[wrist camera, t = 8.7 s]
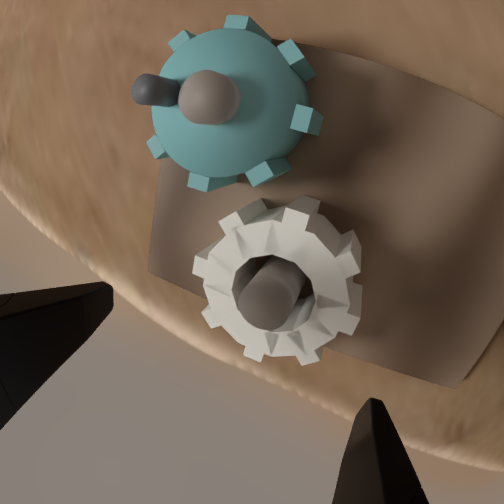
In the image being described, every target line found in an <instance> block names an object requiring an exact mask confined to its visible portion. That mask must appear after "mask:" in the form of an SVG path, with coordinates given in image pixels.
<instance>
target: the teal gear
mask: <svg viewBox="0 0 504 504" xmlns="http://www.w3.org/2000/svg"><path fill="white" fill-rule="evenodd" d="M271 41H272V38H271V37H270V36H269V35H268V34H267V33H266V32H265V31H264V30H263V29H262V28H261V27H260V26H259V25H258V24H257V23H256V22H255V21H254V20H253V19H252V18H250V17H249V16H240V15H227V18H226V21H225V25H224V28H223V29H216V30H212V31H208V32H205V33H202V34H200V35H197V36H196V35H194V34H192V33H190V32H188V31H186V30H183V31H182V32H180V33H179V34H178V35H177V36H175V37H174V38H173V39H172V40H171V41H169V42H168V44H169V45H170V47H171V49H172V50H173V52H174V53H173V54H172V55H171V57H170V58H169V59H168V60H167V62H166V63H165V65H164V66H163V68H162V70H161V72H160V74H159V76H157V75H152V74H142V75H140V76H139V77H138V78H137V79H136V80H135V82H134V84H133V86H132V97H133V100H134V101H135V102H136V103H137V104H141V105H152V119H153V124H154V128H155V132H156V134H155V135H154V136H153V137H151V138H150V139H149V140H148V141H147V142H146V143H147V145H148V146H149V148H150V150H151V152H152V154H153V156H154V158H155V159H161V158H169V157H171V158H172V159H173V160H174V161H175V162H176V163H178V164H179V165H180V166H182V167H183V168H185V169H187V170H189V171H191V172H190V174H189V179H188V185H187V187H191V188H194V189H197V190H200V191H203V192H209V191H212V190H215V189H218V188H222V187H225V186H228V185H231V184H234V183H236V182H237V177H238V174H242V173H245V172H246V173H245V174H246V176H247V177H248V179H249V181H250V183H251V184H252V186H253V187H255V186H257V185H260V184H262V183H265V182H267V181H270V180H273V179H275V178H277V177H279V176H281V175H282V174H284V173H286V172H288V171H290V170H292V168H291V166H290V164H289V163H288V161H287V159H286V158H284V157H286V156H287V155H288V154H289V153H290V152H291V151H292V150H293V149H294V148H295V147H296V146H297V144H298V143H299V141H300V140H301V138H302V136H303V134H304V132H305V133H309V134H313V135H317V136H319V133H320V129H321V125H322V121H323V118H324V116H322V115H321V114H320V113H319V112H317V111H316V110H315V109H313V108H310V100H309V94H308V90H307V87H306V84H305V82H306V81H308V80H309V79H311V78H313V77H315V76H317V75H316V73H315V72H314V70H313V69H312V67H311V66H310V64H309V63H308V61H307V60H306V59H305V57H304V56H303V54H302V53H301V52H300V50H299V49H298V47H297V46H296V45H295V43H294V42H293V41H292V39H289V40H287V41H285V42H284V43H282V44H280V45H279V46H277V48H278V49H279V50H278V49H277V48H276V47H275V46H274V45H273V44H272V43H271ZM201 70H213V71H216V72H218V73H220V74H223V75H225V76H227V77H229V78H231V79H232V80H233V81H234V82H235V83H236V84H237V85H238V87H239V90H240V94H241V101H240V106H239V108H238V111H237V112H236V114H235V115H234V116H233V117H232V118H231V119H230V120H229V121H227V122H226V123H223V124H220V125H204V124H196V123H193V122H190V121H189V120H187V119H186V118H185V117H184V116H183V114H182V112H181V110H180V108H179V102H178V98H179V92H180V89H181V87H182V85H183V83H184V82H185V80H186V79H187V78H188V77H189V76H190V75H192V74H193V73H195V72H198V71H201ZM304 81H305V82H304Z"/></svg>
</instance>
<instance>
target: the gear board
mask: <svg viewBox="0 0 504 504" xmlns="http://www.w3.org/2000/svg"><path fill="white" fill-rule="evenodd" d="M192 34H194V35H196V36H197V35H200V34H202V33H192ZM284 42H285V41H282V40H276V39H272V41H271V43H272V44H273V45H274V46H275V47H276V48H277V46H279V45H280V44H282V43H284ZM295 45H296V46H297V47H298V49H299V50H300V52H301V53H302V54H303V56H304V57H305V59H306V60H307V61H308V63H309V64H310V66H311V67H312V69H313V70H314V72H315V73H316V75H317V76H315V77H313V78H311V79H309V80H308V81H306V82H305V81H304V82H305V84H306V87H307V90H308V94H309V100H310V108H313V109H315V110H316V111H317V112H319V113H320V114H321V115H322V116H324V118H323V121H322V125H321V129H320V133H319V136H317V135H313V134H309V133H305V132H304V134H303V136H302V138H301V140H300V141H299V143H298V144H297V146H296V147H295V148H294V149H293V150H292V151H291V152H290V153H289V154H288V155H287V156H286V157H284V158H286V159H287V161H288V163H289V164H290V166H291V168H292V170H290V171H288V172H286V173H284V174H282V175H281V176H279V177H277V178H275V179H273V180H270V181H267V182H265V183H262V184H260V185H257V186H255V187H253V186H252V184H251V183H250V181H249V179H248V177H247V176H246V174H245V173H246V172H245V173H242V174H238V177H237V182H236V183H234V184H231V185H228V186H225V187H222V188H218V189H215V190H212V191H209V192H203V191H200V190H197V189H194V188H191V187H187V185H188V179H189V174H190V172H191V171H189V170H187V169H185V168H183V167H182V166H180V165H179V164H178V163H176V162H175V161H174V160H173V159H172V158H171V157H169V158H162V159H161V165H160V171H159V178H158V185H157V192H156V199H155V207H154V215H153V223H152V232H151V242H150V252H149V263H148V272H149V273H151V274H153V275H155V276H157V277H160V278H162V279H164V280H166V281H168V282H170V283H172V284H175V285H177V286H179V287H181V288H183V289H186V290H188V291H190V292H192V293H195V294H197V295H199V296H201V297H204V298H206V299H207V296H206V293H205V290H204V287H203V282H204V278H201V277H199V276H197V275H194V274H192V271H193V265H194V259H195V255H196V254H198V253H199V252H201V251H202V250H204V249H205V248H207V247H208V246H210V245H211V244H212V243H214V242H215V241H217V240H218V239H220V238H221V237H223V236H224V235H225V233H224V231H223V229H222V227H221V226H220V224H219V222H218V221H220V220H222V219H223V218H225V217H227V216H229V215H230V214H232V213H234V212H236V211H237V210H239V209H241V208H243V207H245V206H247V205H249V204H250V203H252V202H254V201H256V200H258V199H260V198H261V199H262V200H263V202H264V204H265V206H266V208H267V209H272V208H276V207H281V206H286V205H289V204H290V203H292V202H293V201H294V200H295V199H297V198H298V197H299V196H300V195H305V196H308V197H311V198H314V199H317V200H320V201H321V202H320V205H319V208H318V212H317V214H320V215H323V216H325V217H326V218H327V219H328V220H329V222H330V223H331V224H332V225H333V226H334V227H335V228H336V230H337V231H338V232H339V233H340V234H341V235H342V234H344V233H346V232H348V231H351V230H354V232H355V234H356V236H357V238H358V240H359V242H360V245H361V247H362V249H361V272H360V273H358V274H356V275H354V276H353V282H354V283H356V284H359V285H362V304H361V318H360V320H359V322H358V324H357V326H356V328H355V330H354V332H353V334H352V336H351V335H348V334H345V333H343V332H340V331H338V332H337V334H336V337H335V338H333V339H332V340H330V341H329V342H327V343H325V344H324V346H325V347H327V348H330V349H333V350H336V351H338V352H341V353H344V354H347V355H350V356H352V357H355V358H358V359H361V360H364V361H367V362H370V363H373V364H376V365H379V366H382V367H385V368H388V369H391V370H394V371H397V372H400V373H403V374H406V375H409V376H413V377H416V378H419V379H422V380H426V381H429V382H432V383H436V384H439V385H442V386H446V387H449V388H453V389H456V388H457V386H458V385H459V384H460V383H461V381H462V380H463V379H464V377H465V376H466V375H467V374H468V372H469V371H470V369H471V368H472V367H473V365H474V364H475V363H476V361H477V360H478V358H479V357H480V355H481V354H482V353H483V351H484V350H485V348H486V347H487V345H488V344H489V342H490V341H491V339H492V337H493V336H494V334H495V333H496V331H497V330H498V328H499V326H500V325H501V323H502V321H503V320H504V119H503V118H501V117H499V116H498V115H496V114H494V113H493V112H491V111H489V110H487V109H485V108H483V107H482V106H480V105H478V104H476V103H474V102H472V101H470V100H468V99H466V98H464V97H462V96H460V95H458V94H456V93H454V92H451V91H449V90H447V89H445V88H443V87H440V86H438V85H436V84H433V83H431V82H429V81H426V80H424V79H421V78H419V77H416V76H414V75H411V74H408V73H406V72H403V71H400V70H397V69H394V68H392V67H389V66H386V65H383V64H379V63H376V62H373V61H370V60H366V59H363V58H360V57H356V56H352V55H349V54H345V53H341V52H337V51H333V50H328V49H324V48H320V47H315V46H310V45H305V44H300V43H295ZM277 49H278V48H277ZM278 50H279V49H278ZM240 101H241V94H240V90H239V87H238V85H237V84H236V83H235V82H234V81H233V80H232V79H231V78H229V77H227V76H225V75H223V74H220V73H218V72H216V71H213V70H201V71H198V72H195V73H193V74H192V75H190V76H189V77H188V78H187V79H186V80H185V82H184V83H183V85H182V87H181V89H180V92H179V98H178V102H179V108H180V110H181V112H182V114H183V116H184V117H185V118H186V119H187V120H189V121H190V122H193V123H196V124H204V125H220V124H223V123H226V122H227V121H229V120H230V119H231V118H232V117H233V116H234V115H235V114H236V112H237V111H238V108H239V106H240ZM226 235H227V234H226ZM226 235H225V236H226ZM255 265H256V269H257V272H258V273H257V274H256V275H255V276H254V277H253V279H252V280H251V281H250V282H249V283H248V285H247V286H246V287H245V288H244V289H243V290H242V292H241V293H240V296H239V299H238V306H239V310H240V313H241V314H242V316H243V318H244V319H245V320H246V321H247V322H248V323H249V324H251V325H252V326H254V327H256V328H259V329H262V330H274V329H277V328H279V327H281V326H282V325H283V324H284V323H285V322H286V321H287V319H288V317H289V315H290V313H291V311H292V309H293V306H294V304H295V302H296V300H297V299H304V298H307V297H308V296H310V295H311V294H312V293H314V291H313V286H312V282H311V280H310V279H309V277H308V276H307V275H306V274H305V273H304V272H303V271H302V270H301V269H300V268H299V266H298V265H297V264H296V263H295V262H292V261H289V260H286V259H284V258H281V257H278V256H275V255H273V254H272V255H265V256H259V257H257V259H256V263H255Z"/></svg>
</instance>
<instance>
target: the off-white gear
mask: <svg viewBox="0 0 504 504" xmlns="http://www.w3.org/2000/svg"><path fill="white" fill-rule="evenodd" d="M320 202H321V201H320V200H317V199H314V198H311V197H308V196H305V195H300V196H299V197H298V198H297V199H295V200H294V201H293V202H292V203H290V204H289V205H286V206H281V207H276V208H272V209H267V208H266V206H265V204H264V202H263V200H262V199H261V198H260V199H258V200H256V201H254V202H252V203H250V204H249V205H247V206H245V207H243V208H241V209H239V210H237V211H236V212H234V213H232V214H230V215H229V216H227V217H225V218H223V219H222V220H220V221H218V222H219V224H220V226H221V227H222V229H223V231H224V233H225V235H226V234H227V235H226V236H225V235H224V236H223V237H221V238H220V239H218V240H217V241H215V242H214V243H212V244H211V245H210V246H208V247H207V248H205V249H204V250H202V251H201V252H199V253H198V254H196V255H195V259H194V265H193V271H192V274H194V275H197V276H199V277H201V278H204V282H203V287H204V290H205V293H206V296H207V299H208V302H209V305H208V306H207V307H206V308H205V309H204V310H203V311H202V312H201V313H202V315H203V316H204V318H205V320H206V321H207V323H208V324H209V326H210V327H211V329H212V328H215V327H218V326H220V325H222V326H223V328H224V329H225V330H226V331H227V332H228V333H229V334H230V335H231V336H232V337H233V338H234V339H235V340H236V341H237V342H238V343H240V344H242V345H245V346H246V347H245V350H244V353H243V355H244V356H246V357H249V358H251V359H253V360H256V361H258V362H261V361H262V359H263V358H264V356H265V354H266V355H269V356H296V357H297V359H298V360H299V362H300V364H301V365H302V366H303V365H307V364H310V363H314V362H317V361H320V359H321V355H322V351H323V347H324V344H325V343H327V342H329V341H330V340H332V339H333V338H335V337H336V334H337V332H338V331H340V332H343V333H345V334H348V335H351V336H352V334H353V332H354V330H355V328H356V326H357V324H358V322H359V320H360V318H361V304H362V285H359V284H356V283H354V282H353V276H354V275H356V274H358V273H360V272H361V249H362V247H361V245H360V242H359V240H358V238H357V236H356V234H355V232H354V230H351V231H348V232H346V233H344V234H342V235H341V234H340V233H339V232H338V231H337V230H336V228H335V227H334V226H333V225H332V224H331V223H330V222H329V220H328V219H327V218H326V217H325V216H323V215H320V214H317V212H318V208H319V205H320ZM272 254H273V255H275V256H278V257H281V258H284V259H286V260H289V261H292V262H295V263H296V264H297V265H298V266H299V268H300V269H301V270H302V271H303V272H304V273H305V274H306V275H307V276H308V277H309V279H310V280H311V282H312V286H313V291H314V293H312V294H311V295H310V296H308V297H307V298H304V299H297V300H296V302H295V304H294V306H293V309H292V311H291V313H290V315H289V317H288V319H287V321H286V322H285V323H284V324H283V325H282V326H281V327H279V328H277V329H274V330H262V329H259V328H256V327H254V326H252V325H251V324H249V323H248V322H247V321H246V320H245V319H244V318H243V316H242V314H241V313H240V310H239V306H238V299H239V296H240V293H241V292H242V290H243V289H244V288H245V287H246V286H247V285H248V283H249V282H250V281H251V280H252V279H253V277H254V276H255V275H256V274H257V273H258V272H257V269H256V265H255V263H256V259H257V257H259V256H265V255H272Z"/></svg>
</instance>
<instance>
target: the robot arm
mask: <svg viewBox="0 0 504 504" xmlns="http://www.w3.org/2000/svg"><path fill="white" fill-rule="evenodd" d="M113 305H114V303H113V287H112V286H111V285H109V284H108V283H106V282H103V281H102V282H94V283H87V284H79V285H73V286H64V287H57V288H49V289H42V290H34V291H27V292H18V293H10V294H2V295H0V430H1V429H2V428H3V427H4V425H5V424H6V423H7V422H8V421H9V420H10V419H11V418H12V417H13V416H14V415H15V414H16V412H17V411H18V410H19V409H20V408H21V407H22V406H23V405H24V404H25V403H26V402H27V401H28V399H29V398H30V397H31V396H32V395H33V394H34V393H35V392H36V391H37V390H38V389H39V388H40V387H41V386H42V385H43V383H45V382H46V381H47V380H48V379H49V378H50V377H51V376H52V374H54V372H55V371H57V370H58V368H59V367H60V366H61V365H62V364H63V363H64V362H65V361H66V360H67V359H68V358H69V357H70V356H71V355H72V354H73V353H74V352H76V351H77V349H79V348H80V347H81V345H83V344H84V342H86V341H87V340H88V338H89V337H90V336H91V335H92V334H93V333H94V331H95V330H96V329H97V328H98V326H99V325H100V324H101V323H102V322H103V320H104V319H105V318H106V317H107V316H108V315H109V313H110V312H111V311H112V309H113ZM332 504H429V502H428V500H427V498H426V495H425V493H424V491H423V489H422V488H421V484H420V482H419V480H418V477H417V475H416V472H415V470H414V468H413V466H412V463H411V461H410V459H409V457H408V454H407V452H406V450H405V448H404V446H403V443H402V441H401V439H400V437H399V435H398V433H397V430H396V428H395V426H394V424H393V422H392V420H391V418H390V416H389V413H388V411H387V409H386V407H385V405H384V403H383V402H382V401H381V400H379V399H375V398H369V399H368V400H367V401H366V403H365V404H364V405H363V407H362V408H361V409H360V411H359V412H358V413H357V415H356V417H355V420H354V423H353V427H352V430H351V434H350V437H349V440H348V443H347V446H346V449H345V452H344V456H343V459H342V463H341V467H340V471H339V477H338V481H337V485H336V489H335V494H334V498H333V502H332Z"/></svg>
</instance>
